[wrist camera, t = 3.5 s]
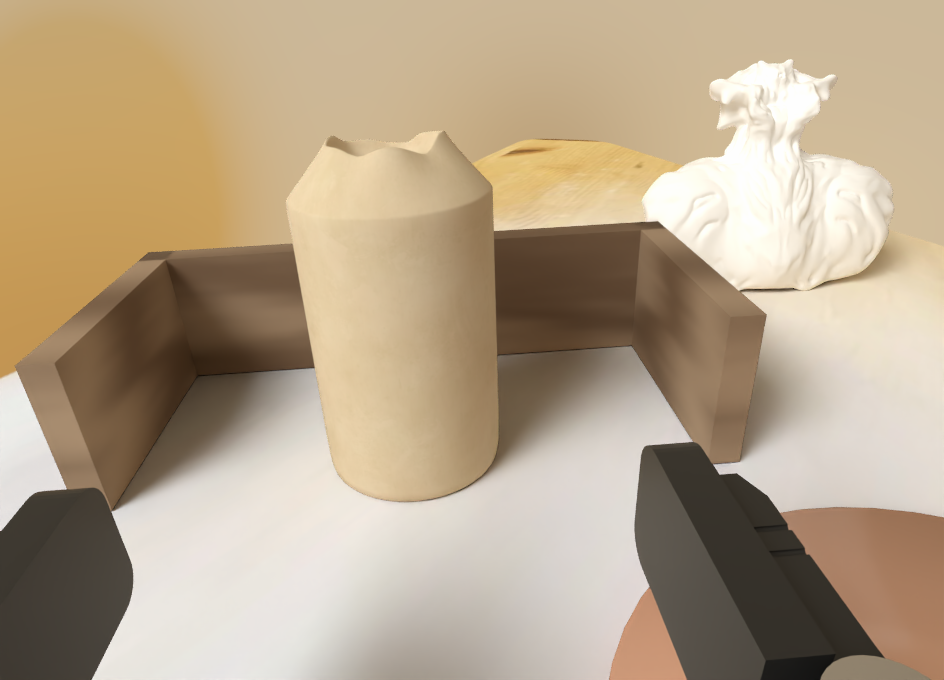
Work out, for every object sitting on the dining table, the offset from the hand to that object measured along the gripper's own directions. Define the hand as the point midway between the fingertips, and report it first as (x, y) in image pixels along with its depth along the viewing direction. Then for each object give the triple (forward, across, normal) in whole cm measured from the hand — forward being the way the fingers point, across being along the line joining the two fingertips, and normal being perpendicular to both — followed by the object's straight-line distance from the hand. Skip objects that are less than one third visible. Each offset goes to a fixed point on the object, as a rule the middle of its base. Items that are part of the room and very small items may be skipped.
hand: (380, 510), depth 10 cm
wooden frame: (+12, 0, +6) cm, 14 cm away
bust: (+23, -18, +6) cm, 30 cm away
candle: (+10, 0, +6) cm, 12 cm away
